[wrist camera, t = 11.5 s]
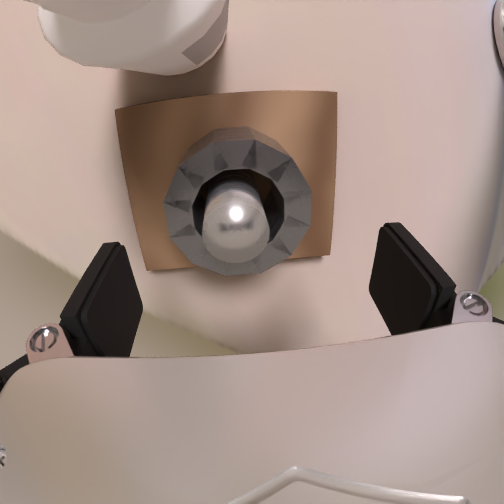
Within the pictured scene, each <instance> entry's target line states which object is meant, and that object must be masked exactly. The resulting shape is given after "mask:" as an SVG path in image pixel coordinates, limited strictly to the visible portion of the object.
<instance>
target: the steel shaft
mask: <svg viewBox="0 0 504 504" xmlns="http://www.w3.org/2000/svg"><path fill="white" fill-rule="evenodd" d="M269 232H270V231H269V225H268V222H267V219H266V215H265V212H264V209H263V206H262V202H261V199H260V196H259V193H258V190H257V186H256V183H255V180H254V177H253V175H252V173H251V172H250V171H249V170H248V169H235V170H223V171H221V172H220V173H218V174H217V175H215V176H214V177H212V178H211V179H210V180H209V185H208V192H207V199H206V206H205V214H204V221H203V229H202V238H203V242H204V245H205V247H206V248H207V250H208V251H209V252H210V253H211V254H212V255H213V256H214V257H216V258H217V259H219V260H222V261H224V262H229V263H241V262H246V261H249V260H251V259H253V258H255V257H256V256H258V255H259V254H260V253H261V252H262V251H263V250H264V248H265V247H266V245H267V243H268V240H269Z"/></svg>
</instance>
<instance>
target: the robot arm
mask: <svg viewBox="0 0 504 504" xmlns="http://www.w3.org/2000/svg"><path fill="white" fill-rule="evenodd" d="M494 33H495V38H496V44H497V48H498V52H499V56H500V58H501V61H502V64H503V67H504V0H497V2H496V5H495V9H494ZM455 288H456V284H455V283H454V282H453V280H452V279H451V278H450V277H449V276H448V274H447V273H446V272H445V271H444V270H443V269H442V267H441V266H440V265H439V264H438V263H437V262H436V261H435V260H434V258H433V257H432V256H431V255H430V254H429V253H428V252H427V251H426V250H425V248H424V247H423V246H422V245H421V244H420V243H419V242H418V241H417V240H416V239H415V238H414V237H413V236H412V234H411V233H410V232H409V231H408V230H407V229H406V228H405V227H404V226H403V225H402V224H401V223H399V222H397V223H385V224H384V226H383V227H381V228H380V230H379V235H378V241H377V247H376V253H375V258H374V263H373V269H372V274H371V279H370V283H369V292H370V295H371V297H372V299H373V300H374V302H375V304H376V306H377V308H378V310H379V312H380V314H381V315H382V317H383V319H384V321H385V323H386V325H387V327H388V329H389V331H390V333H391V335H392V336H386V337H381V338H375V339H369V340H363V341H356V342H350V343H343V344H336V345H328V346H320V347H312V348H304V349H295V350H285V351H275V352H263V353H251V354H236V355H221V356H220V355H219V356H198V357H130V353H131V349H132V345H133V342H134V339H135V335H136V332H137V328H138V325H139V322H140V318H141V315H142V311H143V305H142V301H141V298H140V295H139V292H138V288H137V285H136V282H135V279H134V276H133V272H132V269H131V266H130V262H129V259H128V255H127V252H126V249H125V247H124V246H123V245H120V243H119V242H111V243H104V244H103V245H102V246H101V248H100V249H99V251H98V252H97V254H96V255H95V257H94V259H93V260H92V262H91V263H90V265H89V266H88V268H87V270H86V271H85V273H84V275H83V276H82V278H81V280H80V281H79V283H78V285H77V286H76V288H75V290H74V291H73V293H72V295H71V297H70V299H69V300H68V302H67V304H66V306H65V307H64V309H63V311H62V313H61V315H60V318H61V321H60V323H59V325H58V324H55V323H48V324H44V325H41V326H39V327H38V328H36V329H35V330H34V331H33V332H32V333H31V334H30V335H29V337H28V339H27V341H26V351H27V354H26V355H24V356H22V357H21V358H19V359H18V360H16V361H14V362H13V363H11V364H10V365H8V366H6V367H5V368H3V369H2V370H0V504H504V321H502V320H499V319H497V318H495V317H492V306H491V304H490V302H489V301H488V300H487V299H486V298H485V297H484V296H482V295H481V294H479V293H477V292H474V291H470V290H464V291H461V292H459V293H458V294H456V293H455V291H454V290H455Z"/></svg>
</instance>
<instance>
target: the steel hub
mask: <svg viewBox="0 0 504 504" xmlns="http://www.w3.org/2000/svg"><path fill="white" fill-rule="evenodd" d="M248 168H249V169H251V170H253V171H255V172H257V173H260V174H262V175H264V176H266V177H268V178H270V179H271V190H270V192H269V194H268V195H267V197H266V199H265V201H264V203H263V204H262V206H263V209H264V212H265V215H266V219H267V222H268V225H269V231H270V232H269V240H268V243H267V245H266V247H265V248H264V250H263V251H262V252H261V253H260V254H259V255H258V256H256V257H255V258H253V259H251V260H249V261H246V262H241V263H229V262H224V261H222V260H219V259H217V258H216V257H214V256H213V255H212V254H211V253H210V252H209V251H208V250H207V248H206V247H205V245H204V242H203V238H202V229H203V221H204V214H205V206H206V201H205V200H204V198H203V197H202V196H201V191H200V187H201V185H202V184H203V183H205V182H206V181H208V180H209V179H211V178H212V177H214V176H215V175H217V174H218V173H220V172H221V171H223V170H235V169H248ZM311 197H312V190H311V188H310V187H309V185H308V183H307V181H306V180H305V178H304V176H303V175H302V173H301V171H300V170H299V168H298V166H297V165H296V163H295V162H294V160H293V158H292V157H291V156H290V155H289V154H288V153H287V152H286V150H285V149H284V148H283V147H282V146H281V145H280V144H279V143H278V142H277V141H276V140H275V139H273V138H271V137H269V136H267V135H265V134H263V133H261V132H259V131H257V130H255V129H252V128H250V127H248V126H242V127H228V128H217V129H214V130H212V131H211V132H210V133H208V134H207V135H205V136H204V137H202V138H201V139H199V140H198V141H197V142H195V143H194V144H192V145H191V146H189V148H188V150H187V151H186V153H185V155H184V157H183V158H182V160H181V162H180V164H179V166H178V168H177V170H176V172H175V175H174V177H173V180H172V182H171V184H170V187H169V189H168V192H167V194H166V196H165V199H164V201H163V204H164V210H165V216H166V221H167V227H168V232H169V238H170V239H171V240H172V241H173V242H174V243H175V244H176V246H177V247H178V248H179V249H180V250H181V251H182V252H183V253H184V255H185V256H186V257H187V258H188V259H189V260H190V261H191V262H192V263H193V264H195V265H197V266H200V267H203V268H205V269H208V270H211V271H213V272H216V273H219V274H221V275H224V276H233V275H245V274H256V273H262V272H264V271H266V270H267V269H269V268H271V267H272V266H274V265H276V264H278V263H279V262H281V261H283V260H284V259H286V258H288V257H290V256H291V255H292V254H293V252H294V251H295V249H296V248H297V246H298V245H299V243H300V242H301V240H302V238H303V237H304V235H305V234H306V232H307V231H308V229H309V227H310V226H311Z"/></svg>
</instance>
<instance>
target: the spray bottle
mask: <svg viewBox="0 0 504 504" xmlns="http://www.w3.org/2000/svg"><path fill="white" fill-rule="evenodd" d="M25 1H28V2H32V3H35V4H38V20H39V23H40V26H41V29H42V32H43V35H44V38H45V39H46V40H47V41H48V42H49V43H50V44H51V46H52V47H53V48H54V49H55V50H56V51H57V52H58V53H59V54H60V55H61V56H63V57H65V58H68V59H70V60H72V61H74V62H77V63H79V64H81V65H83V66H93V67H105V68H114V69H123V70H131V71H138V72H145V73H152V74H158V75H165V76H170V75H178V74H185V73H187V72H189V71H192V70H194V69H197V68H199V67H201V66H202V65H203V64H204V63H206V62H207V61H208V60H210V59H211V58H212V57H213V56H214V55H215V53H216V52H217V51H218V49H219V48H220V47H221V45H222V44H223V41H224V38H225V35H226V32H227V22H228V4H229V0H25Z"/></svg>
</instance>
